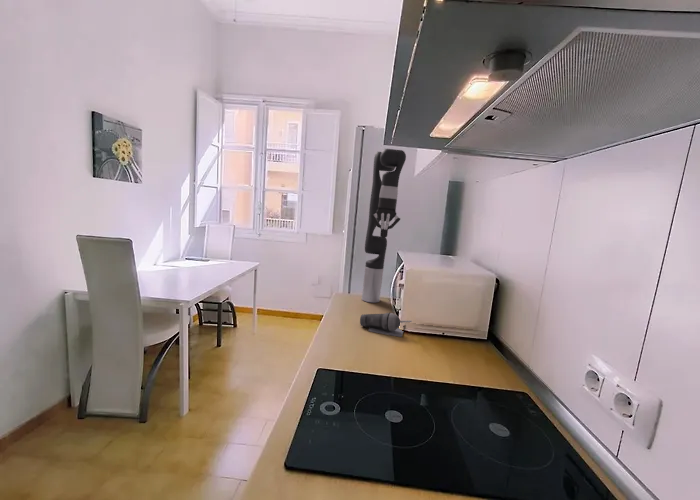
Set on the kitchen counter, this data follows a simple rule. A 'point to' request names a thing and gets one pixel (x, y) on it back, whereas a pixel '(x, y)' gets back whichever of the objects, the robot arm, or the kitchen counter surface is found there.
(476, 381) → the kitchen counter surface
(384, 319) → the beverage cup
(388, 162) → the robot arm
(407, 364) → the kitchen counter surface
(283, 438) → the kitchen counter surface
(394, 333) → the rubber mat
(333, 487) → the kitchen counter surface
